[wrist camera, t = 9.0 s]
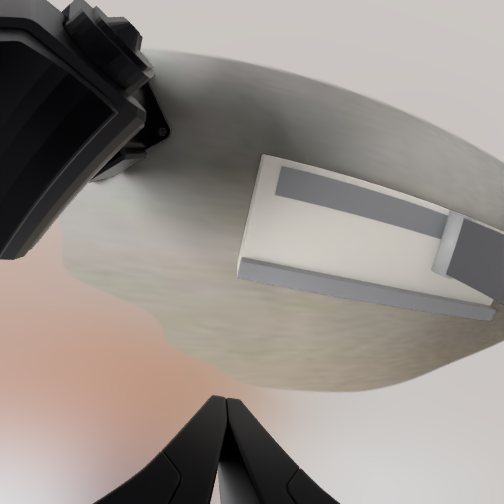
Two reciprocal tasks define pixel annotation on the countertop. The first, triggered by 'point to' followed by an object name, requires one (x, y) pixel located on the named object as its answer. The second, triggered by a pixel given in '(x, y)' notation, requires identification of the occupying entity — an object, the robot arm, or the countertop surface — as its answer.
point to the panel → (350, 241)
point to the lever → (472, 256)
